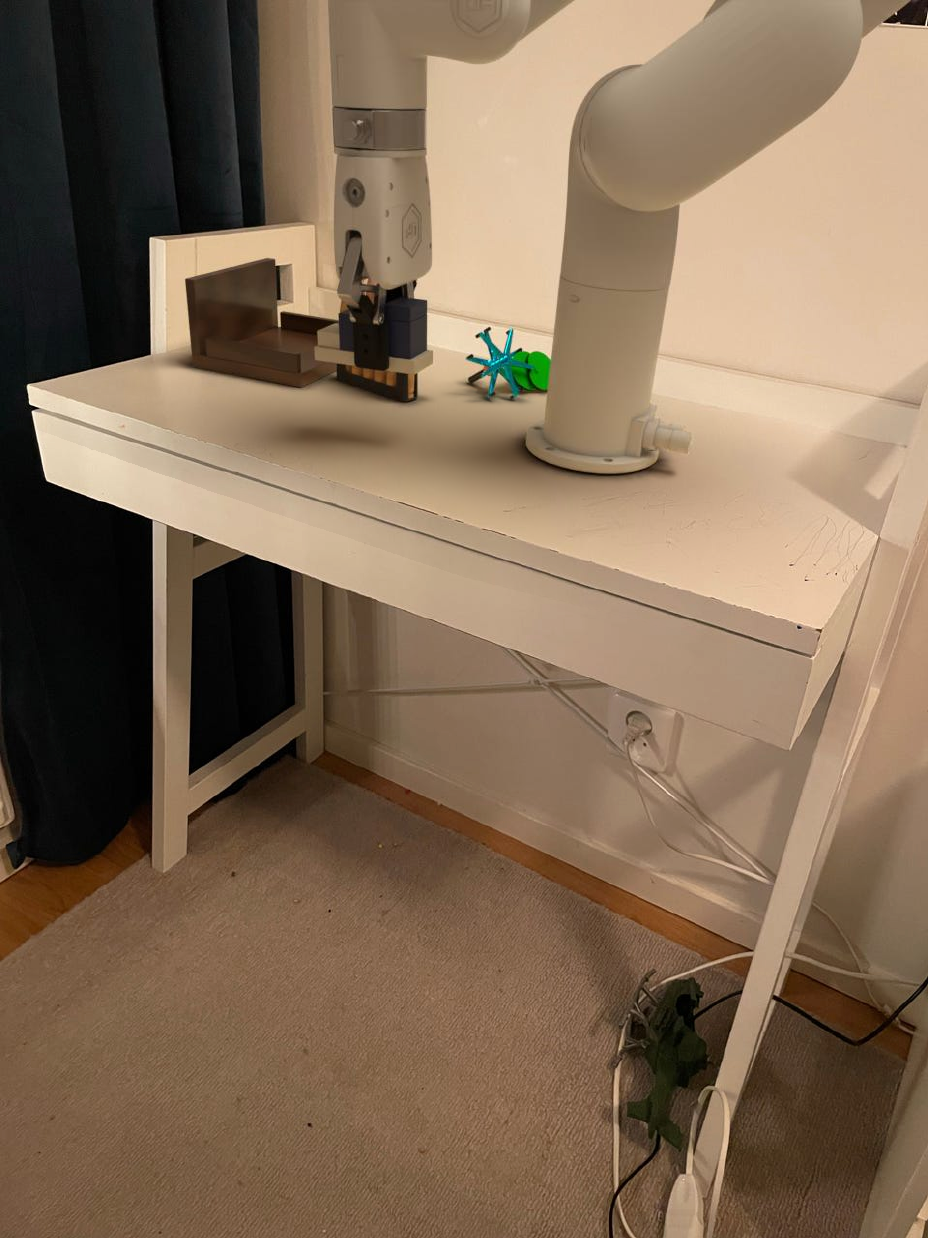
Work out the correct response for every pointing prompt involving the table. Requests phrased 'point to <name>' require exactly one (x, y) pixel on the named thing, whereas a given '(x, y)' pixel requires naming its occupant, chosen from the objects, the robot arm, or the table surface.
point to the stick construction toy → (512, 367)
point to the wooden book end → (251, 327)
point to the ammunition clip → (379, 375)
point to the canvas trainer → (403, 337)
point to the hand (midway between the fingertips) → (383, 359)
